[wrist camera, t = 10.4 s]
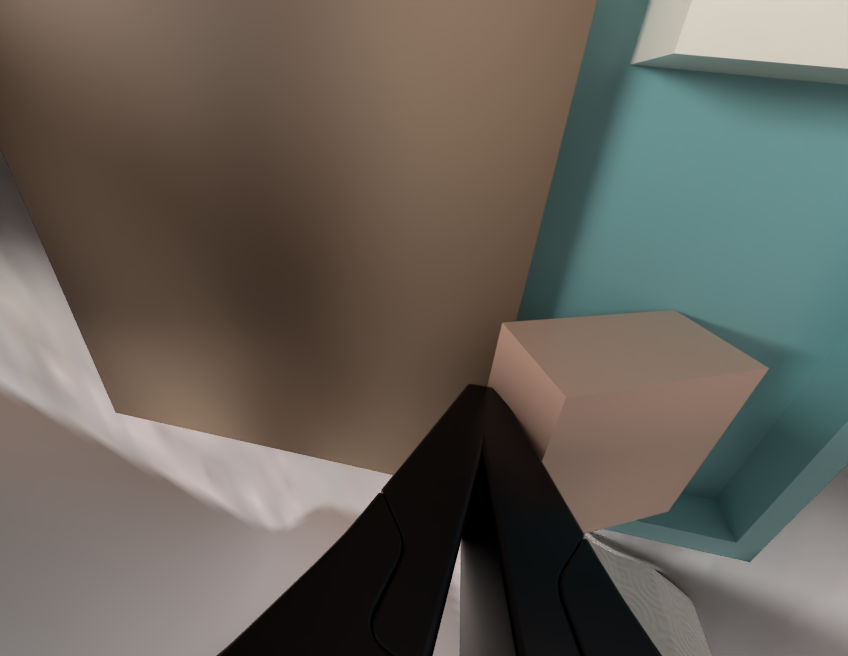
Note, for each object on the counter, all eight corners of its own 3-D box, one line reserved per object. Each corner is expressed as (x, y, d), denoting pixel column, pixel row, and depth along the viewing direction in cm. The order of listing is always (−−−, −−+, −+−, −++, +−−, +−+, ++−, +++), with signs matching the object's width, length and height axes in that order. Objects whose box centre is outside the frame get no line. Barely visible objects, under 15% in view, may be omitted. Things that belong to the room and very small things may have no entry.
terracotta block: (467, 469, 9) (506, 554, 8) (502, 322, 7) (566, 396, 5) (608, 442, 10) (667, 511, 9) (674, 309, 8) (768, 367, 7)
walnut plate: (184, 356, 14) (115, 412, 12) (-50, -472, 6) (-447, -874, 4) (480, 416, 13) (472, 493, 11) (694, -518, 5) (893, -1176, 2)
